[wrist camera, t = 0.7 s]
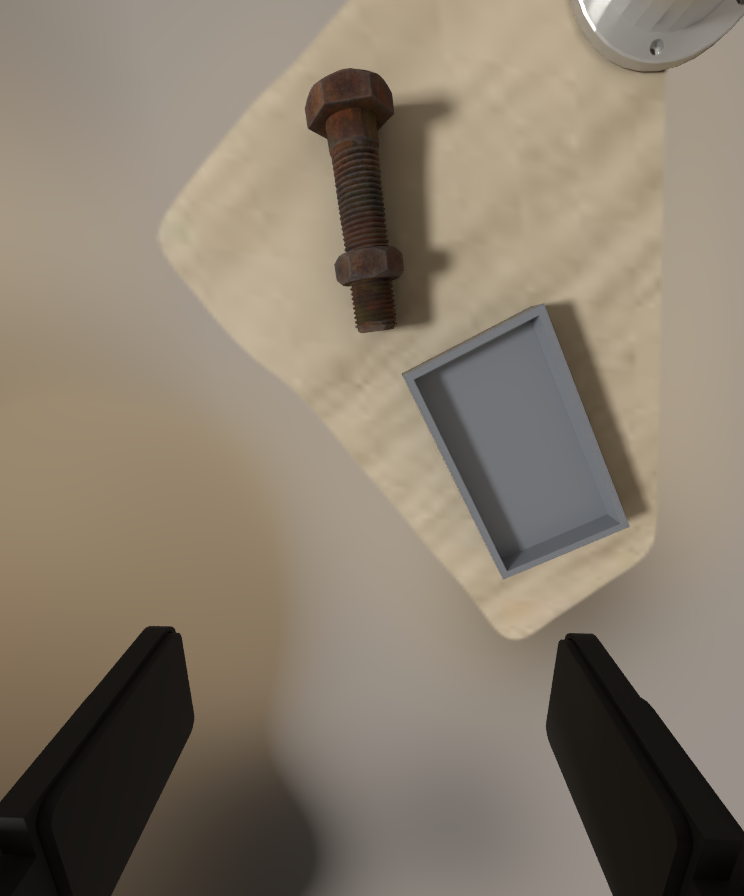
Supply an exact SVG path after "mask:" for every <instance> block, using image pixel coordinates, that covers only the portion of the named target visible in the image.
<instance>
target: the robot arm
mask: <svg viewBox="0 0 744 896" xmlns="http://www.w3.org/2000/svg"><path fill="white" fill-rule="evenodd" d="M570 2H571V5H572V9H573V13H574V16H575V18H576V20H577V22H578V25H579V27H580V29H581V31H582V33H583V34H584V36H585V37H586V38H587V40H588V41H589V42H590V44H591V45H592V46H593V48H594V49H595V50H596V51H598V52H599V53H600V54H601V55H602V56H604V57H605V58H606V59H607V60H609V61H611V62H613V63H615V64H617V65H619V66H621V67H623V68H627V69H632V70H636V71H661V70H665V69H669V68H673V67H677V66H679V65H681V64H683V63H686V62H688V61H690V60H692V59H694V58H696V57H697V56H699V55H700V54H702V53H703V52H704V51H706V50H707V49H709V48H710V47H712V46H713V45H714V44H715V43H716V42H717V41H718V40H719V39H721V38H722V37H723V36H724V35H725V34H726V33H727V32H728V31H730V30H731V29H732V27H734V25H735V24H736V23H737V22H738V21H739V20H740V19H741V18H742V16H743V15H744V0H570ZM193 723H194V711H193V705H192V699H191V692H190V687H189V680H188V675H187V668H186V662H185V655H184V649H183V643H182V637H181V635H180V633H176V631H175V629H174V628H173V627H169V626H165V627H164V626H149V627H147V628H145V629H144V630H143V631H142V633H141V634H140V635H139V636H138V637H137V639H136V640H135V641H134V642H133V643H132V645H131V646H130V647H129V648H128V649H127V651H126V652H125V653H124V654H123V655H122V657H121V658H120V659H119V661H118V662H117V663H116V664H115V665H114V666H113V668H112V669H111V670H110V671H109V672H108V674H107V675H106V676H105V677H104V679H103V680H102V681H101V682H100V683H99V685H98V686H97V687H96V688H95V689H94V691H93V692H92V693H91V694H90V695H89V696H88V697H87V698H86V699H85V701H84V702H83V703H82V704H81V705H80V707H79V708H78V709H77V710H76V711H75V713H74V714H73V715H72V716H71V717H70V719H69V720H68V721H67V722H66V723H65V725H64V726H63V727H62V728H61V729H60V731H59V732H58V733H57V734H56V735H55V737H54V738H53V739H52V741H50V743H49V744H48V745H47V746H46V747H45V749H44V750H43V751H42V752H41V754H40V755H39V756H38V757H37V758H36V760H35V761H34V762H33V763H32V764H31V766H30V767H29V768H28V769H27V771H26V772H25V773H24V774H23V775H22V776H21V778H20V779H19V780H18V781H17V782H16V784H15V785H14V786H13V787H12V789H11V790H10V791H9V792H8V793H7V795H6V796H5V797H4V798H3V799H2V800H1V802H0V896H111V895H112V892H113V891H114V889H115V887H116V885H117V882H118V880H119V878H120V876H121V874H122V872H123V870H124V868H125V866H126V864H127V862H128V860H129V858H130V856H131V854H132V852H133V850H134V848H135V846H136V844H137V842H138V840H139V838H140V836H141V834H142V831H143V829H144V827H145V825H146V823H147V821H148V819H149V817H150V815H151V813H152V811H153V809H154V807H155V805H156V803H157V801H158V799H159V797H160V795H161V793H162V791H163V788H164V786H165V785H166V783H167V780H168V778H169V776H170V774H171V772H172V770H173V768H174V766H175V764H176V762H177V760H178V758H179V756H180V754H181V752H182V750H183V748H184V746H185V744H186V742H187V739H188V738H189V735H190V733H191V731H192V728H193ZM546 731H547V736H548V740H549V743H550V745H551V748H552V750H553V752H554V755H555V757H556V760H557V762H558V764H559V767H560V769H561V772H562V774H563V777H564V779H565V781H566V784H567V786H568V789H569V791H570V793H571V796H572V798H573V801H574V803H575V805H576V808H577V810H578V813H579V815H580V817H581V820H582V822H583V825H584V827H585V829H586V832H587V834H588V837H589V839H590V842H591V844H592V846H593V848H594V851H595V854H596V856H597V858H598V861H599V863H600V866H601V868H602V870H603V873H604V875H605V878H606V880H607V882H608V885H609V887H610V890H611V892H612V894H613V896H744V831H743V830H742V828H741V827H740V826H739V824H738V823H737V821H736V820H735V819H734V817H733V816H732V815H731V813H730V812H729V811H728V809H727V808H726V807H725V805H724V804H723V803H722V801H721V800H720V799H719V797H718V796H717V794H716V793H715V792H714V790H713V789H712V788H711V786H710V785H709V783H708V782H707V781H706V779H705V778H704V777H703V775H702V774H701V773H700V771H699V770H698V769H697V767H696V766H695V764H694V763H693V762H692V760H691V759H690V758H689V757H688V755H687V754H686V752H685V751H684V750H683V748H682V747H681V745H680V744H679V743H678V742H677V740H676V739H675V738H674V736H673V735H672V733H671V732H670V731H669V729H668V728H667V726H666V725H665V724H664V722H663V721H662V720H661V718H660V717H659V716H658V714H657V713H656V712H655V710H654V709H653V708H652V707H651V706H650V704H649V703H648V702H647V701H645V700H644V699H642V698H641V697H640V696H639V695H638V693H637V692H636V691H635V689H634V688H633V686H632V685H631V684H630V682H629V681H628V680H627V678H626V677H625V676H624V674H623V673H622V671H621V670H620V669H619V667H618V666H617V664H616V663H615V662H614V660H613V659H612V658H611V656H610V655H609V653H608V652H607V651H606V649H605V648H604V646H603V645H602V644H601V642H600V641H599V640H598V638H597V637H596V636H595V635H593V634H580V633H578V634H577V633H569V634H567V635H566V636H565V640H560V641H559V643H558V649H557V655H556V662H555V669H554V675H553V682H552V688H551V695H550V701H549V709H548V714H547V721H546Z"/></svg>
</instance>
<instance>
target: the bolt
mask: <svg viewBox="0 0 744 896" xmlns="http://www.w3.org/2000/svg"><path fill="white" fill-rule="evenodd" d="M305 113H306V120H307V127H308V129H310V130H311V131H313V132H315V133H317V134H319V135H321V136H323V137H325V138H326V139H328V146H329V152H330V155H331V157H332V164H333V170H334V176H335V183H336V185H335V186H336V188H337V190H336V193H337V194H338V195H337V199H338V205H339V210H340V212H339V214H340V216H341V217H340V220H341V221H342V222H341V225H342V226H343V227H342V231H343V234H342V235H343V236H344V239H343V240H344V241H345V244H344V246H345V247H346V248H345V251H346V252H347V253H344V254H342V255H340V256H339V257H338V259H337V261H336V263H335V264H334V265H335V271H336V278H337V281H338V282H339V283H340V284H342V285H343V286H352V288H351V289H350V290H351V291H353V292H352V294H351V295H352V296H354V297H353V298H352V300H353V301H354V302H353V305H355V307H354V308H353V309H354V310H356V311H355V312H354V314H355V315H356V316H355V319H356V320H357V321H356V322H355V323H356V324H358V325H357V326H356V328H358V331H359V332H360V333H367V332H374V331H381V330H388V329H393V328H394V327H395V325H396V324H397V323H396V322H394V321H395V320H396V318H395V317H394V316H395V315H396V314H395V313H394V311H395V309H394V308H393V307H394V306H395V305H394V304H393V302H394V301H395V300H393V299H392V297H393V296H394V295H392V294H391V293H392V292H393V290H392V289H391V288H392V287H393V286H392V285H391V283H392V280H394V279H397V278H399V276H400V275H401V274H402V272H403V271H404V269H403V260H402V254H401V253H400V252H399V251H398V250H397V249H396V248H395V247H391V246H388V245H387V244H386V243H387V242H388V240H387V239H386V238H387V236H388V235H386V234H385V233H386V232H387V230H386V229H385V227H386V224H385V223H384V222H385V221H386V219H385V218H384V216H385V213H384V210H385V208H383V206H384V203H383V202H382V201H383V197H382V195H383V193H382V191H381V190H382V187H381V180H380V179H381V175H380V172H381V171H380V168H379V167H380V163H379V157H378V155H379V153H378V148H379V141H378V132H377V131H378V130H379V129H380V128H381V127H382V126H383V124H384V123H385V122H386V121H387V120H388V119H389V118H390V117H391V116H392V115H393V114H394V108H393V98H392V92H391V91H390V89H389V87H388V85H387V84H386V82H385V81H384V80H383V78H382V77H381V76H380V75H378V74H377V73H374V72H370V71H367V70H361V69H352V68H349V69H342V70H339V71H336V72H334V73H332V74H330V75H328V76H326V77H324V78H323V79H321V80H320V81H318V82H317V83H315V84H314V85H313V87H312V88H311V90H310V92H309V95H308V98H307V102H306V106H305Z"/></svg>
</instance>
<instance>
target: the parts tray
mask: <svg viewBox="0 0 744 896" xmlns="http://www.w3.org/2000/svg"><path fill="white" fill-rule="evenodd" d="M402 375H403V377H404V379H405V382H406V384H407V386H408V388H409V390H410V392H411V394H412V396H413V398H414V400H415V402H416V404H417V406H418V408H419V410H420V412H421V414H422V416H423V418H424V420H425V422H426V424H427V426H428V428H429V430H430V432H431V434H432V436H433V438H434V440H435V442H436V444H437V447H438V449H439V451H440V453H441V455H442V457H443V459H444V461H445V463H446V465H447V467H448V469H449V471H450V473H451V475H452V477H453V479H454V481H455V483H456V485H457V487H458V489H459V491H460V493H461V495H462V497H463V499H464V501H465V503H466V505H467V507H468V509H469V512H470V514H471V516H472V518H473V520H474V522H475V524H476V526H477V528H478V530H479V532H480V534H481V536H482V538H483V540H484V542H485V544H486V546H487V548H488V550H489V552H490V554H491V556H492V558H493V560H494V562H495V564H496V566H497V568H498V570H499V572H500V574H501V576H502V578H503V579H506V578H508V577H510V576H513V575H515V574H518V573H520V572H522V571H525V570H527V569H530V568H532V567H534V566H537V565H539V564H542V563H544V562H546V561H549V560H551V559H554V558H556V557H558V556H561V555H563V554H566V553H568V552H570V551H573V550H575V549H578V548H580V547H582V546H585V545H587V544H590V543H592V542H594V541H597V540H599V539H601V538H604V537H606V536H609V535H611V534H613V533H616V532H618V531H621V530H623V529H625V528H628V527H630V526H629V524H628V521H627V519H626V516H625V513H624V511H623V508H622V506H621V503H620V500H619V498H618V495H617V493H616V490H615V487H614V485H613V482H612V479H611V477H610V474H609V472H608V469H607V466H606V464H605V461H604V459H603V456H602V453H601V451H600V448H599V446H598V443H597V440H596V438H595V435H594V433H593V430H592V427H591V425H590V422H589V420H588V417H587V414H586V412H585V409H584V407H583V404H582V401H581V399H580V396H579V394H578V391H577V388H576V386H575V383H574V381H573V378H572V375H571V373H570V370H569V368H568V365H567V362H566V360H565V357H564V354H563V352H562V349H561V347H560V344H559V341H558V339H557V336H556V334H555V331H554V328H553V326H552V323H551V321H550V318H549V315H548V313H547V310H546V308H545V305H544V304H540V305H536V306H531V307H529V308H527V309H525V310H524V311H522V312H520V313H518V314H516V315H514V316H512V317H510V318H508V319H506V320H504V321H502V322H500V323H499V324H497V325H495V326H493V327H491V328H489V329H487V330H485V331H483V332H481V333H479V334H477V335H475V336H474V337H472V338H470V339H468V340H466V341H464V342H462V343H460V344H458V345H456V346H454V347H452V348H450V349H449V350H447V351H445V352H443V353H441V354H439V355H437V356H435V357H433V358H431V359H429V360H427V361H425V362H424V363H422V364H420V365H418V366H416V367H414V368H412V369H410V370H408V371H406V372H404V373H402Z"/></svg>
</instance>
